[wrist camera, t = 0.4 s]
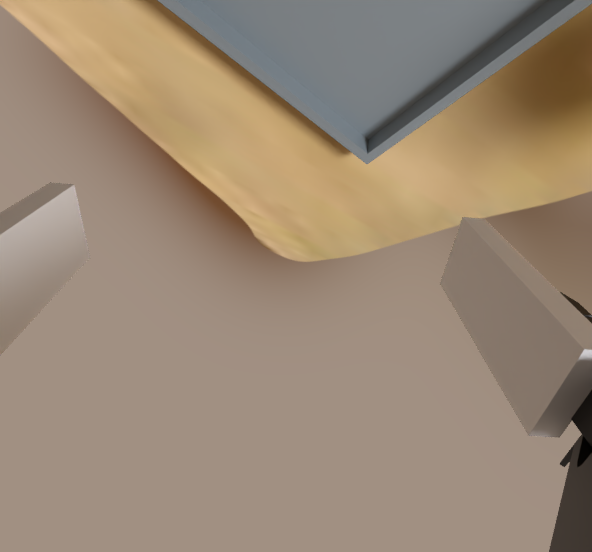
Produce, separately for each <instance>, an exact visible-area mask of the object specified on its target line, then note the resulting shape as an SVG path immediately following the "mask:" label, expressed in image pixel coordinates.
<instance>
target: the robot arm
mask: <svg viewBox="0 0 592 552" xmlns="http://www.w3.org/2000/svg"><path fill="white" fill-rule="evenodd" d="M89 258H90V255H89V250H88V245H87V241H86V236H85V232H84V227H83V223H82V218H81V214H80V209H79V204H78V200H77V195H76V191H75V186H74V185H73V184H61V183H49V184H47V185H46V186H44V187H42V188H40V189H39V190H37V191H36V192H34V193H32V194H31V195H29V196H27V197H26V198H24V199H22V200H21V201H19V202H17V203H16V204H14V205H12V206H11V207H9V208H7V209H6V210H4V211H3V212H1V213H0V355H1V354H2V353H3V352H4V351H5V350H6V349H7V347H8V346H9V345H10V344H11V343H12V342H13V341H14V339H16V338H17V337H18V335H19V334H20V333H21V332H22V331H23V330H24V329H25V328H26V327H27V326H28V325H29V324H30V322H31V321H32V320H33V319H34V318H35V317H36V316H37V315H38V314H39V313H40V312H41V310H42V309H43V308H44V307H45V306H46V305H47V304H48V303H49V302H50V301H51V300H52V298H53V297H54V296H55V295H56V294H57V293H58V292H59V291H60V290H61V289H62V288H63V286H64V285H65V284H66V283H67V282H68V281H69V280H70V279H71V277H73V275H74V274H75V273H76V272H77V271H78V270H79V269H80V268H81V267H82V266H83V265H84V264H85V263H86V261H87V260H88V259H89ZM440 285H441V286H442V288H443V290H444V291H445V293H446V295H447V296H448V298H449V300H450V302H451V303H452V305H453V307H454V308H455V310H456V312H457V314H458V315H459V317H460V319H461V321H462V322H463V324H464V326H465V327H466V329H467V331H468V332H469V334H470V336H471V338H472V339H473V341H474V343H475V344H476V346H477V348H478V350H479V351H480V353H481V355H482V357H483V358H484V360H485V362H486V363H487V365H488V367H489V368H490V370H491V372H492V374H493V375H494V377H495V379H496V381H497V382H498V384H499V386H500V387H501V389H502V391H503V392H504V394H505V396H506V398H507V399H508V401H509V403H510V405H511V406H512V408H513V410H514V411H515V413H516V415H517V416H518V418H519V420H520V422H521V423H522V425H523V427H524V429H525V430H526V432H527V433H528V435H529V436H544V437H560V436H561V435H562V433H563V432H564V431H565V429H566V428H567V426H568V425H569V424H570V422H571V421H573V422H574V423H575V425H576V426H577V427H578V429H579V430H580V432H581V433H582V435H581V436H580V437H579V439H578V440H577V441H576V443H575V444H574V445H573V447H572V448H571V449H570V450H569V452H568V453H567V455H566V456H565V457H564V459H563V460H562V461H561V463H560V465H562V466H564V467H565V466H566V465H567V464H568V462H570V465H569V469H568V473H567V478H566V482H565V486H564V490H563V495H562V499H561V503H560V507H559V512H558V516H557V520H556V524H555V529H554V533H553V537H552V541H551V546H550V550H549V552H592V315H591V314H590V313H588V311H587V310H586V309H584V308H583V307H582V306H581V305H580V304H579V303H578V302H576V301H574V300H573V299H571V298H569V297H568V296H566V295H565V294H563V293H561V292H559V291H558V290H557V289H556V288H555V287H554V286H553V285H552V284H550V282H549V281H548V280H546V279H545V278H544V277H543V276H542V275H541V274H540V273H539V272H538V271H537V270H536V269H535V268H534V267H533V266H532V265H531V264H530V263H529V262H528V261H527V260H526V259H525V258H524V257H523V256H522V255H521V254H520V253H519V252H518V251H517V250H516V249H515V248H514V247H513V246H511V245H510V244H509V243H508V242H507V241H506V240H505V239H504V238H503V237H502V236H501V235H500V234H499V233H498V232H497V231H496V230H495V229H494V228H493V227H492V226H491V225H490V224H489V223H488V222H487V221H486V220H485V219H480V218H468V217H462V220H461V223H460V226H459V229H458V232H457V235H456V238H455V241H454V244H453V247H452V250H451V253H450V256H449V258H448V262H447V264H446V267H445V270H444V273H443V276H442V279H441V282H440Z"/></svg>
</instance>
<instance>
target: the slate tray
mask: <svg viewBox="0 0 592 552" xmlns="http://www.w3.org/2000/svg"><path fill="white" fill-rule="evenodd" d="M158 1H159V2H160V3H162V4H163V5H164V6H165V7H167V8H168V9H169V10H170V11H172V12H173V13H174V14H176V15H177V16H178V17H179V18H181V19H182V20H183V21H185V22H186V23H187V24H188V25H190V26H191V27H192V28H193V29H195V30H196V31H197V32H199V33H200V34H201V35H202V36H204V37H205V38H206V39H208V40H209V41H210V42H211V43H213V44H214V45H215V46H216V47H218V48H219V49H220V50H222V51H223V52H224V53H225V54H227V55H228V56H229V57H230V58H232V59H233V60H234V61H236V62H237V63H238V64H239V65H241V66H242V67H243V68H245V69H246V70H247V71H248V72H250V73H251V74H252V75H253V76H255V77H256V78H257V79H259V80H260V81H261V82H262V83H264V84H265V85H266V86H268V87H269V88H270V89H271V90H273V91H274V92H275V93H276V94H278V95H279V96H280V97H282V98H283V99H284V100H285V101H287V102H288V103H289V104H291V105H292V106H293V107H294V108H296V109H297V110H298V111H299V112H301V113H302V114H303V115H305V116H306V117H307V118H308V119H310V120H311V121H312V122H313V123H315V124H316V125H317V126H319V127H320V128H321V129H322V130H324V131H325V132H326V133H328V134H329V135H330V136H331V137H333V138H334V139H335V140H336V141H338V142H339V143H340V144H342V145H343V146H344V147H345V148H347V149H348V150H349V151H351V152H352V153H353V154H354V155H356V156H357V157H358V158H359V159H361V160H362V161H363V162H365V163H366V164H368V163H370V162H371V161H373V160H374V159H375V158H377V157H378V156H380V155H381V154H382V153H384V152H385V151H387V150H388V149H389V148H391V147H392V146H394V145H395V144H396V143H398V142H399V141H401V140H402V139H403V138H405V137H406V136H407V135H409V134H410V133H412V132H413V131H414V130H416V129H417V128H419V127H420V126H421V125H423V124H424V123H426V122H427V121H428V120H430V119H431V118H433V117H434V116H435V115H437V114H438V113H440V112H441V111H442V110H444V109H445V108H447V107H448V106H449V105H451V104H452V103H454V102H455V101H456V100H458V99H459V98H461V97H462V96H463V95H465V94H466V93H468V92H469V91H470V90H472V89H473V88H475V87H476V86H477V85H479V84H480V83H482V82H483V81H484V80H486V79H487V78H489V77H490V76H491V75H493V74H494V73H496V72H497V71H498V70H500V69H501V68H503V67H504V66H505V65H507V64H508V63H510V62H511V61H512V60H514V59H515V58H517V57H518V56H519V55H521V54H522V53H523V52H525V51H526V50H528V49H529V48H530V47H532V46H533V45H535V44H536V43H537V42H539V41H540V40H542V39H543V38H544V37H546V36H547V35H549V34H550V33H551V32H553V31H554V30H556V29H557V28H558V27H560V26H561V25H563V24H564V23H565V22H567V21H568V20H570V19H571V18H572V17H574V16H575V15H577V14H578V13H579V12H581V11H582V10H584V9H585V8H586V7H588V6H589V5H591V4H592V0H158Z"/></svg>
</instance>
